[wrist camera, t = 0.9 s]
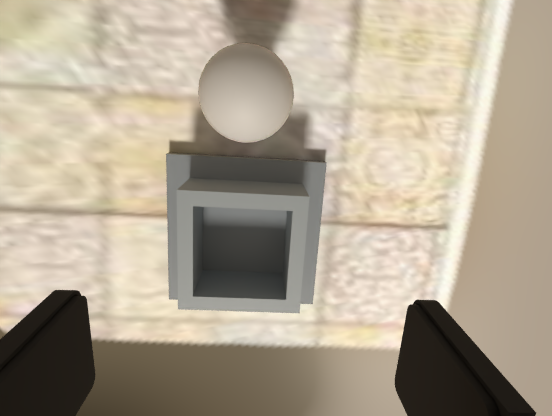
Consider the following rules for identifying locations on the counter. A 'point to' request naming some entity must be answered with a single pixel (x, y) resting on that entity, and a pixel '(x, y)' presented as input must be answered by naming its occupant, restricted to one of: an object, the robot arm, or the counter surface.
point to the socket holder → (243, 231)
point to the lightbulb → (246, 92)
